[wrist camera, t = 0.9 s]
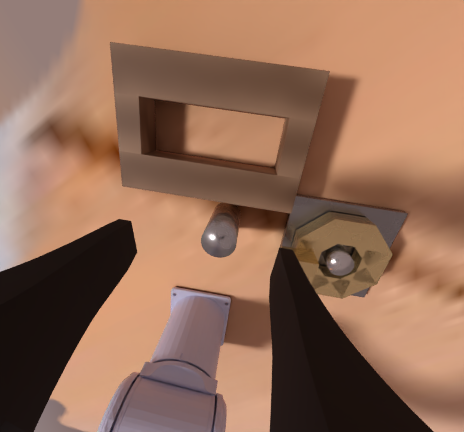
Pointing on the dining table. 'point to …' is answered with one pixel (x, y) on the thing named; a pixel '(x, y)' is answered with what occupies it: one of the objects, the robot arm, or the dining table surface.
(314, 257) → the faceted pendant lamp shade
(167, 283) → the dining table surface
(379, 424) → the robot arm
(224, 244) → the pin
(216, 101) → the slot block
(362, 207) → the nut base
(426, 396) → the dining table surface
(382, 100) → the dining table surface
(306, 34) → the dining table surface
